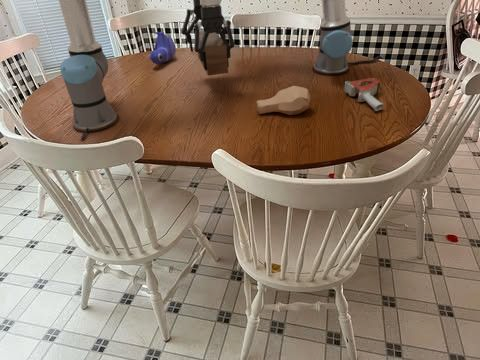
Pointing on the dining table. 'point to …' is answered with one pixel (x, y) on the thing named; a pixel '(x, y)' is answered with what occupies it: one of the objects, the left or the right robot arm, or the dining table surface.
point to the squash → (286, 101)
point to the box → (214, 54)
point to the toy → (162, 49)
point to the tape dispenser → (365, 91)
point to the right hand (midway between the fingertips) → (207, 49)
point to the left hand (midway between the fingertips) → (216, 67)
